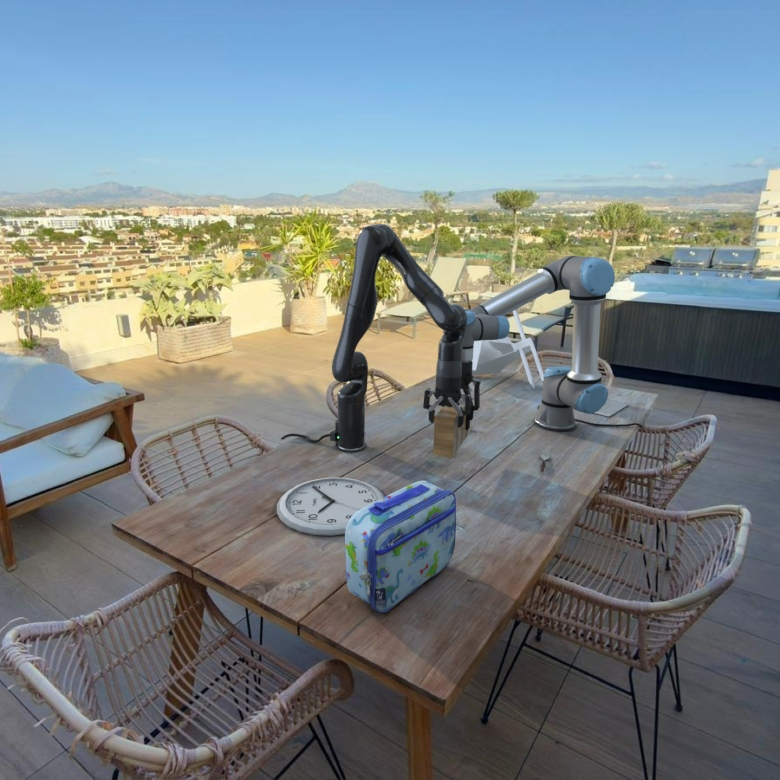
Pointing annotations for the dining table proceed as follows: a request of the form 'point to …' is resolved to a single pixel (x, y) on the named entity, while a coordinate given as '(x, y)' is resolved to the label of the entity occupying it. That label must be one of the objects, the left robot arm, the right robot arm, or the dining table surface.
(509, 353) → the white plastic object
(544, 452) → the fork
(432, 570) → the lunch box
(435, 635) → the dining table surface
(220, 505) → the dining table surface
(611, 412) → the invitation card
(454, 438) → the box
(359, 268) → the left robot arm
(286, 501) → the wall clock
